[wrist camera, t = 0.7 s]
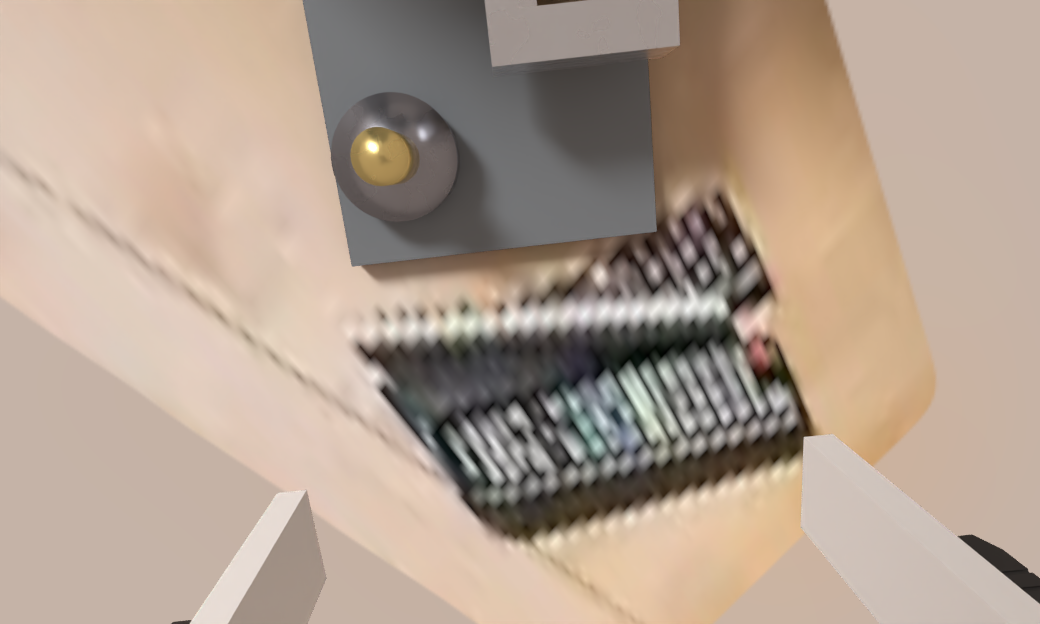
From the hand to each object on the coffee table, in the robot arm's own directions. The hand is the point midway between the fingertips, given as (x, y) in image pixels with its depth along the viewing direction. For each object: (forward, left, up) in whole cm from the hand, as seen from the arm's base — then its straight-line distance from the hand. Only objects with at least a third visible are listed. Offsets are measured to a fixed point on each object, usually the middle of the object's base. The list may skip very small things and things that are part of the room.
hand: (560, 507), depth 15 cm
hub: (-10, -6, -22) cm, 25 cm away
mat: (-14, -1, -23) cm, 27 cm away
